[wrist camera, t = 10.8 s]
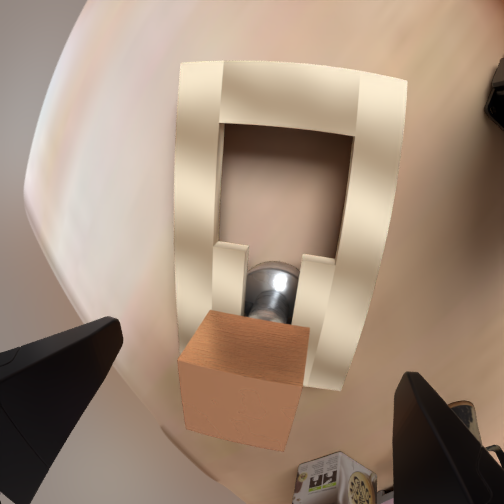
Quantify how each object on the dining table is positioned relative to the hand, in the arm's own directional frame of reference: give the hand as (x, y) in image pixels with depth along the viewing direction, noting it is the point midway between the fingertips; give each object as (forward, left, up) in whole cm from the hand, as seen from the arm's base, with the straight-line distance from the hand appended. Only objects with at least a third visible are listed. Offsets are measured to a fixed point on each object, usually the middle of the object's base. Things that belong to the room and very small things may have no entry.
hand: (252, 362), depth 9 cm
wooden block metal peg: (-1, +5, -13) cm, 14 cm away
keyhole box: (+1, 0, -13) cm, 13 cm away
